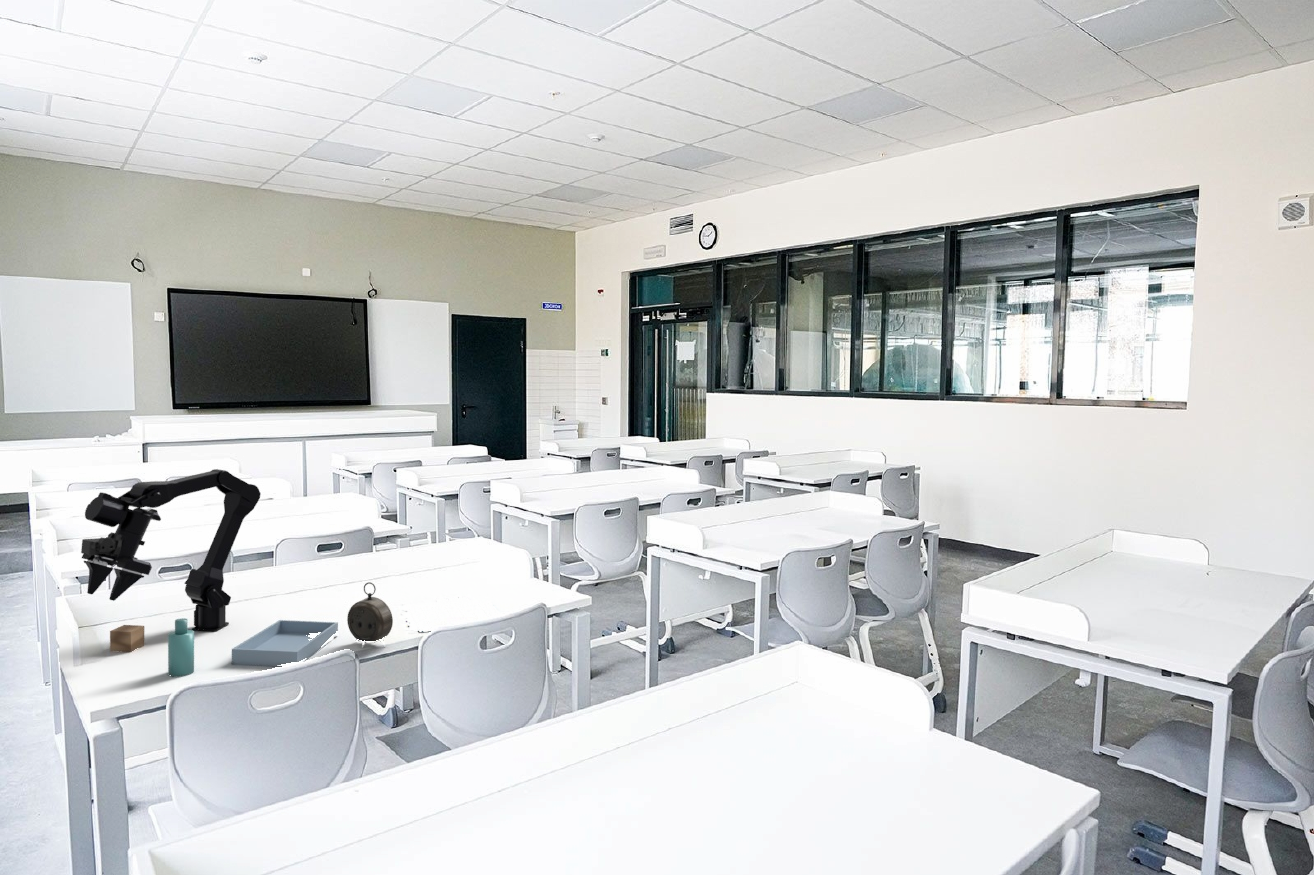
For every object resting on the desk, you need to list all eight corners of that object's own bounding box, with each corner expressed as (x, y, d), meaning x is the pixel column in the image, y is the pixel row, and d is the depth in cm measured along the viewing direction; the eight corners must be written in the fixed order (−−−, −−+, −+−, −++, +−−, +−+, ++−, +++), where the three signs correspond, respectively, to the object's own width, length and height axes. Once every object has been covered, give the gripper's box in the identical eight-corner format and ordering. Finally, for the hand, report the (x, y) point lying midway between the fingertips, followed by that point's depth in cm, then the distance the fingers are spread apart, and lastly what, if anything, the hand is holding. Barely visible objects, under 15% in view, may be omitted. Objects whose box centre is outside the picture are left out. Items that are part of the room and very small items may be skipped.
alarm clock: (393, 646, 206) (394, 582, 205) (379, 652, 201) (380, 587, 200) (357, 640, 209) (358, 577, 208) (343, 646, 204) (343, 582, 203)
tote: (337, 636, 212) (338, 622, 211) (297, 667, 188) (297, 651, 188) (279, 633, 212) (279, 620, 212) (231, 664, 189) (231, 649, 188)
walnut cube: (144, 645, 199) (144, 625, 199) (130, 652, 194) (130, 632, 194) (124, 645, 199) (124, 624, 199) (110, 651, 194) (110, 631, 194)
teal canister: (198, 669, 185) (198, 617, 184) (185, 677, 180) (185, 623, 179) (176, 668, 185) (176, 616, 184) (163, 676, 180) (163, 622, 179)
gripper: (75, 518, 193) (43, 582, 188) (120, 527, 184) (88, 595, 179) (120, 532, 202) (91, 594, 197) (165, 541, 193) (136, 606, 188)
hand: (100, 597), depth 190 cm, fingers open, 9 cm apart
